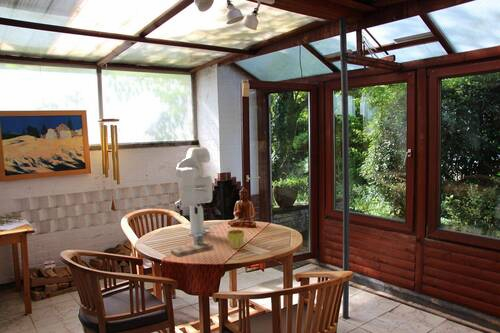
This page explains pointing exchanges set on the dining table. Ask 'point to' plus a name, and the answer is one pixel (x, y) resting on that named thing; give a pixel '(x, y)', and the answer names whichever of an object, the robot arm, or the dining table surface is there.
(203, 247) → the board
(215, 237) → the dining table surface
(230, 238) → the plant pot
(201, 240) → the wooden handled gray mallet
